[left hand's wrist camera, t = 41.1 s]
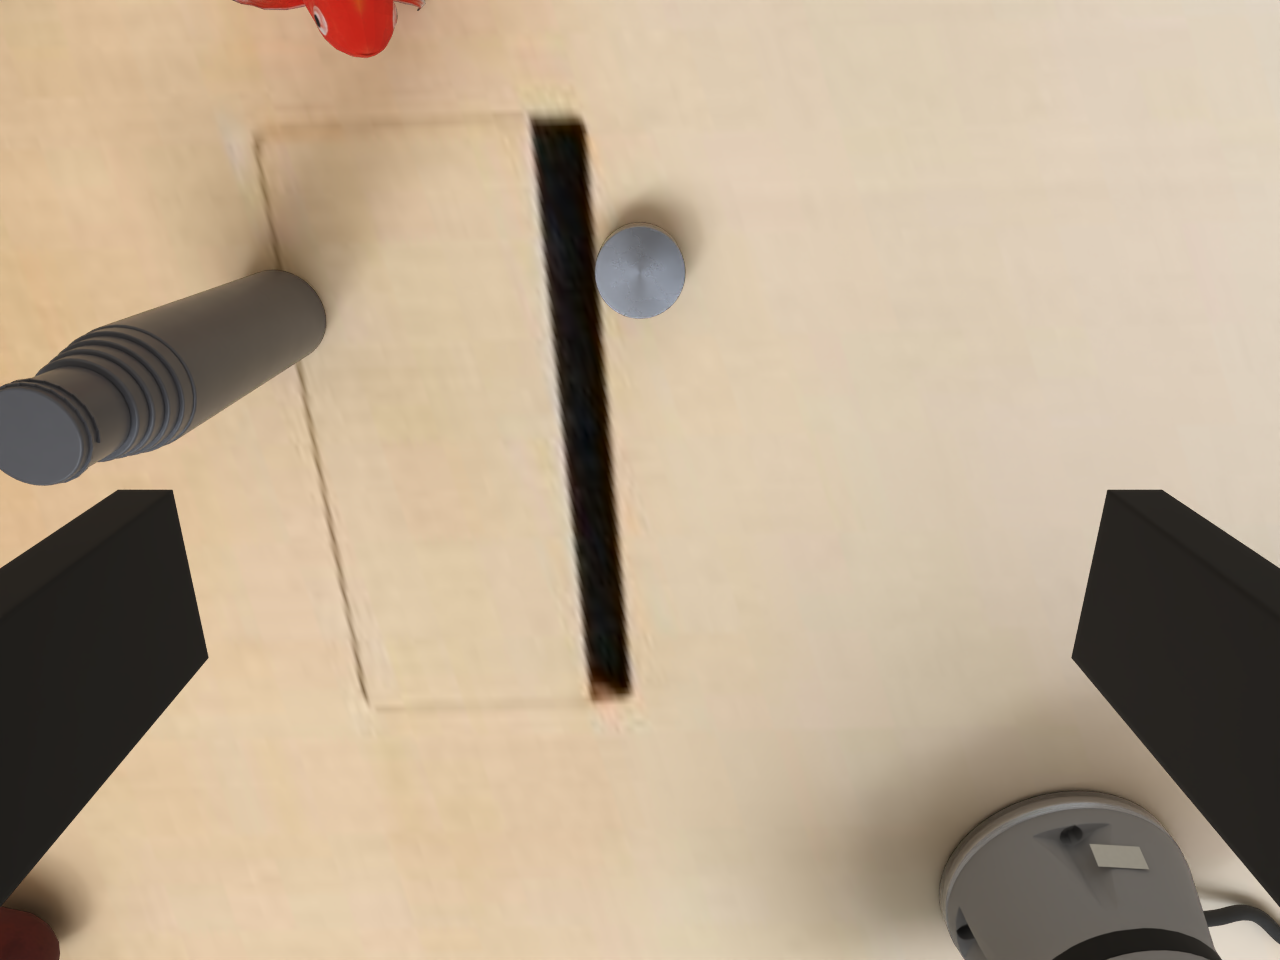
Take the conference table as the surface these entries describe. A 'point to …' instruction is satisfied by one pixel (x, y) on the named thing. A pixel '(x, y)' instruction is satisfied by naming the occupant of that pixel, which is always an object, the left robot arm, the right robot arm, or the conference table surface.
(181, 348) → the bottle
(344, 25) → the fish
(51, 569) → the left robot arm
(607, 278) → the cap
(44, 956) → the dark maroon ball
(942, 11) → the conference table surface
